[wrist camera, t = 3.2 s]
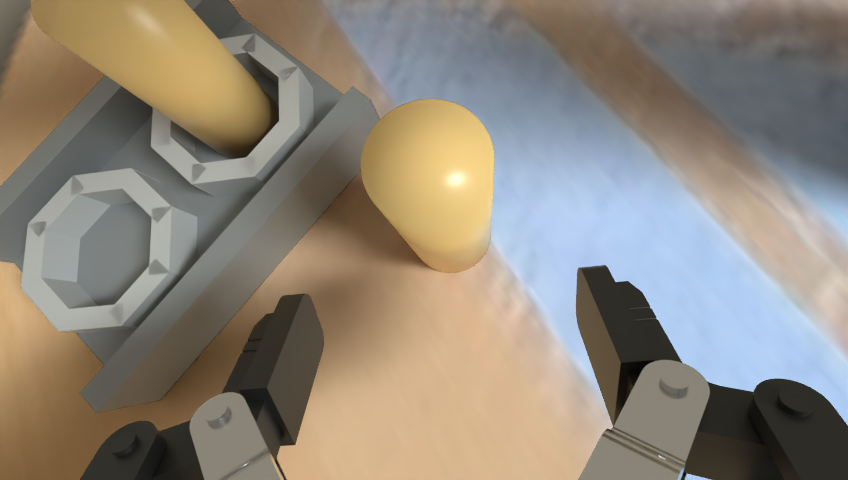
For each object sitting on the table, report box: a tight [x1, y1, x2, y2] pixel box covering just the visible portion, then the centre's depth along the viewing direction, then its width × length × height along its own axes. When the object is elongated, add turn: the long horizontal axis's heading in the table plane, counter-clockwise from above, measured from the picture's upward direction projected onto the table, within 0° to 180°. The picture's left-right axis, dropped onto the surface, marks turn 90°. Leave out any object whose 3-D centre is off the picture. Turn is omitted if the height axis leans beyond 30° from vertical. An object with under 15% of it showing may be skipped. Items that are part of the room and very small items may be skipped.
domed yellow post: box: [361, 99, 494, 273], centre depth 19 cm, size 4×4×10 cm
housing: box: [0, 0, 381, 413], centre depth 20 cm, size 18×12×12 cm, turn 140°
